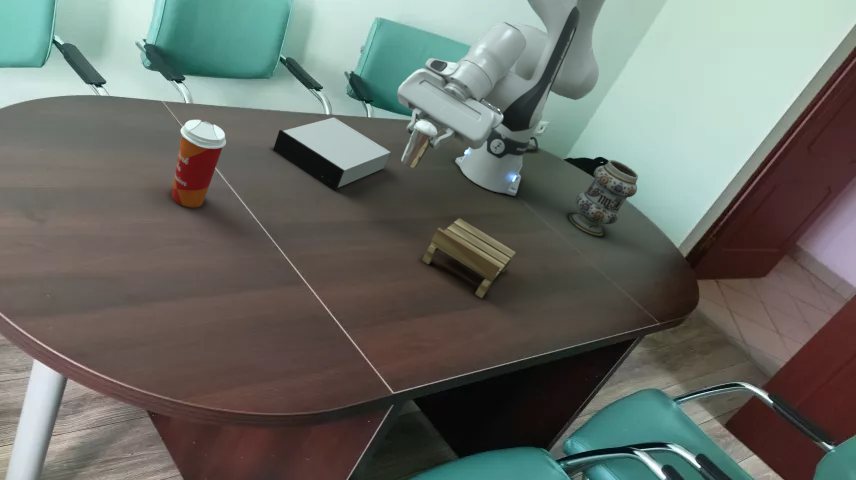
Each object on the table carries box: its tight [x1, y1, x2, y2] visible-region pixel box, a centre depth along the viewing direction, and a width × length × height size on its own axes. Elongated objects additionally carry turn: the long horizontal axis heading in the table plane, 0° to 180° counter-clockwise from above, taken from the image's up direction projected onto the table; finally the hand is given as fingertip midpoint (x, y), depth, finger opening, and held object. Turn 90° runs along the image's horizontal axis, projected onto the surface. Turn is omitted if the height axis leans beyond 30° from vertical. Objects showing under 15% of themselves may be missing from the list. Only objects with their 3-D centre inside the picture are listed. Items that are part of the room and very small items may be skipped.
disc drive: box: [272, 117, 391, 191], centre depth 154 cm, size 18×22×5 cm
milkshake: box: [401, 119, 445, 169], centre depth 130 cm, size 4×5×10 cm
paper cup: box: [171, 119, 227, 208], centre depth 117 cm, size 8×8×14 cm
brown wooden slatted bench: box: [421, 217, 516, 299], centre depth 137 cm, size 17×14×8 cm
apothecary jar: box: [569, 159, 639, 237], centre depth 176 cm, size 12×12×18 cm
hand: (420, 138), depth 129 cm, fingers closed on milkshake, 4 cm apart
